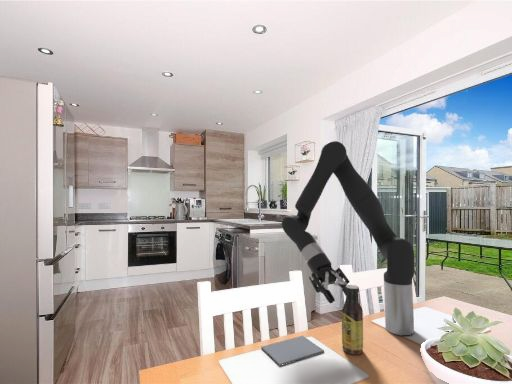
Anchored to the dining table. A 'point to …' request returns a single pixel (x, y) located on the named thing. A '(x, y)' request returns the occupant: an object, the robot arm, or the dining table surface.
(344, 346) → the sauce bottle
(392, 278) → the robot arm
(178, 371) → the dining table surface
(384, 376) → the dining table surface
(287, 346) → the gray mat
